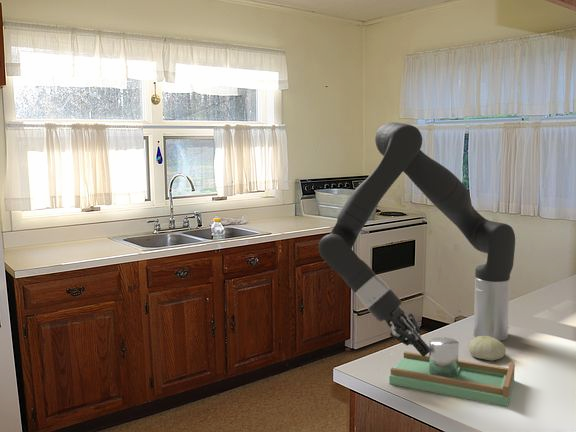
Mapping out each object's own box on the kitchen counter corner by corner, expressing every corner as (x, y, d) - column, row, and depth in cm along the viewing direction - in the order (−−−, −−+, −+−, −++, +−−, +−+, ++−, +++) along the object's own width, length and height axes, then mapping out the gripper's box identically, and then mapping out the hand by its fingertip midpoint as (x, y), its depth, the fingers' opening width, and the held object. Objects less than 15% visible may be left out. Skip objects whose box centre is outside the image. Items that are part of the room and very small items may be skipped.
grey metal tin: (432, 364, 134) (433, 335, 133) (460, 369, 131) (461, 339, 130) (426, 375, 129) (426, 344, 128) (454, 380, 126) (455, 349, 125)
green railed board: (405, 361, 142) (405, 345, 141) (514, 380, 130) (514, 362, 129) (389, 383, 129) (389, 365, 129) (507, 406, 117) (508, 387, 117)
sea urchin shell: (495, 340, 150) (504, 327, 144) (503, 368, 145) (513, 356, 139) (462, 341, 150) (470, 328, 143) (468, 369, 145) (477, 357, 139)
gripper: (379, 295, 128) (432, 354, 124) (396, 282, 139) (444, 335, 135) (358, 314, 131) (408, 372, 127) (376, 299, 143) (423, 352, 139)
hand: (427, 353), depth 131 cm, fingers closed
